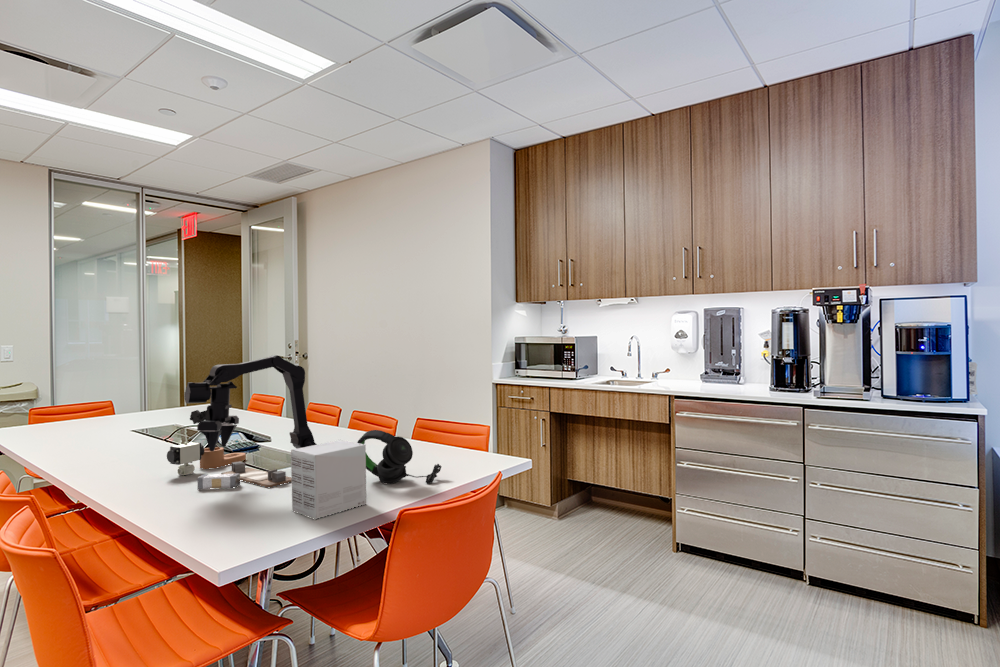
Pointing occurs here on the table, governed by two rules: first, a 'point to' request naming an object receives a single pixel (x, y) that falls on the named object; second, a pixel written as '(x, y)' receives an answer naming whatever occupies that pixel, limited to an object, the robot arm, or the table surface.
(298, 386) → the robot arm
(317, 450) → the supplement box
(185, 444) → the pneumatic valve
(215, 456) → the bracket
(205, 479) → the steel coupler
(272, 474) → the stand
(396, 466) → the headset
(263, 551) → the table surface
